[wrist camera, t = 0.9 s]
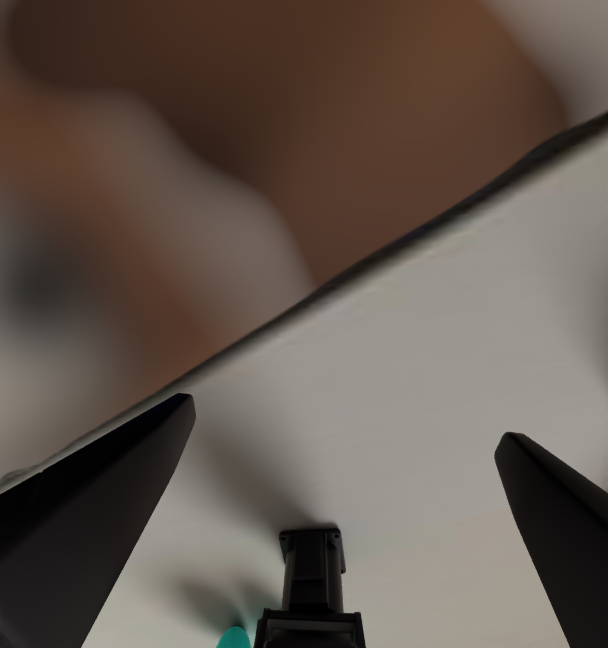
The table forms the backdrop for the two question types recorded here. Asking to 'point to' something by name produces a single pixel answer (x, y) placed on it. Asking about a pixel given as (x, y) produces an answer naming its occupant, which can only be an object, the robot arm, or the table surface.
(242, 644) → the donuts
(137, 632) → the table surface
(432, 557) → the table surface
